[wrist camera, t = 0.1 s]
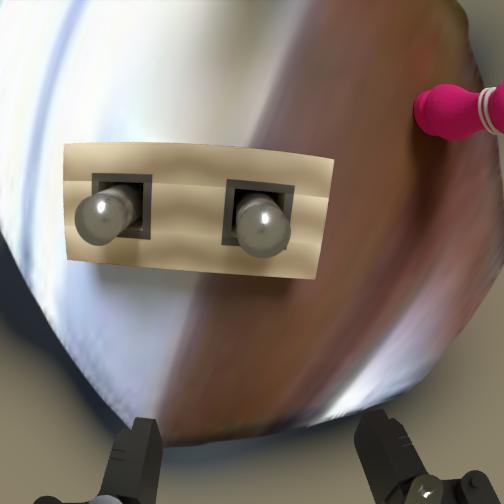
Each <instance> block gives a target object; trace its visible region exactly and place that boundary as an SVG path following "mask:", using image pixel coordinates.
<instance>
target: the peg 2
mask: <svg viewBox="0 0 504 504" xmlns="http://www.w3.org/2000/svg"><path fill="white" fill-rule="evenodd" d="M236 227H237V238H238V242H239V244H240V246H241V247H242V249H243V250H244V251H245V252H246V253H247V254H249V255H251V256H253V257H256V258H261V259H265V258H271V257H274V256H276V255H278V254H279V253H281V252H282V251H283V250H284V249H285V248H286V246H287V245H288V243H289V240H290V236H291V227H290V223H289V221H288V219H287V218H286V216H285V215H284V213H283V212H282V211H281V209H280V208H279V207H278V205H277V204H276V203H275V201H274V200H273V199H272V198H271V197H270V196H269V195H268V194H266V193H264V192H261V191H251V192H248V193H246V194H245V195H243V196H242V197H241V198H240V199H239V201H238V203H237V205H236Z"/></svg>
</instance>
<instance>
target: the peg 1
mask: <svg viewBox="0 0 504 504" xmlns="http://www.w3.org/2000/svg"><path fill="white" fill-rule="evenodd" d="M142 213H143V193H142V191H141V190H140V189H139V188H138V187H137V186H136V185H134V184H132V183H121V184H118V185H116V186H113V187H111V188H108V189H106V190H103V191H101V192H99V193H96V194H94V195H92V196H89V197H87V198H85V199H84V200H82V201H81V202H80V204H79V205H78V207H77V209H76V211H75V217H74V221H75V227H76V230H77V232H78V234H79V235H80V237H81V238H82V239H83V240H84V241H86V242H87V243H89V244H91V245H94V246H103V245H106V244H108V243H110V242H111V241H112V240H113V239H114V238H115V237H117V236H118V235H119V234H120V233H121V232H122V231H123V230H125V229H126V228H127V227H128V226H129V225H130V224H131V223H133V222H134V221H135V220H136V219H137V218H138V217H140V215H141V214H142Z"/></svg>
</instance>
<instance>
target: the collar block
mask: <svg viewBox="0 0 504 504" xmlns="http://www.w3.org/2000/svg"><path fill="white" fill-rule="evenodd" d="M333 164H334V159H328V158H322V157H316V156H310V155H303V154H295V153H288V152H279V151H271V150H262V149H252V148H241V147H230V146H217V145H202V144H183V143H155V142H97V143H74V144H64V161H63V201H64V225H65V240H66V251H67V260H75V261H85V262H95V263H105V264H116V265H127V266H138V267H150V268H161V269H173V270H186V271H199V272H212V273H225V274H239V275H254V276H269V277H284V278H301V279H315V277H316V271H317V266H318V260H319V255H320V249H321V243H322V237H323V231H324V225H325V219H326V213H327V206H328V200H329V193H330V186H331V179H332V172H333ZM125 182H137V183H144V185H143V213H142V214H141V215H140V217H138V218H137V219H136V220H135V221H134V222H133V223H131V224H130V225H129V226H128V227H127V228H126V229H125V230H123V231H122V232H121V233H120V234H119V235H118V236H117V237H115V238H114V239H113V240H112V241H111V242H110V243H108V244H106V245H103V246H94V245H91V244H89V243H87V242H86V241H84V240H83V239H82V238H81V237H80V235H79V234H78V232H77V230H76V227H75V221H74V217H75V211H76V209H77V207H78V205H79V204H80V202H81V201H82V200H84V199H85V198H87V197H89V196H92V195H94V194H96V193H99V192H101V191H103V190H106V189H108V188H111V187H113V186H116V185H118V184H121V183H125ZM235 188H236V189H247V190H258V191H268V192H273V194H272V199H273V200H274V201H275V203H276V204H277V205H278V207H279V208H280V209H281V211H282V212H283V213H284V215H285V216H286V218H287V219H288V221H289V223H290V227H291V236H290V240H289V243H288V245H287V246H286V248H285V249H284V250H283V251H282V252H281V253H279V254H278V255H276V256H274V257H271V258H265V259H261V258H256V257H253V256H251V255H249V254H247V253H246V252H245V251H244V250H243V249H242V247H241V246H240V244H239V242H238V238H237V227H236V218H232V214H233V203H234V192H235Z"/></svg>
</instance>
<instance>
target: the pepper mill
mask: <svg viewBox="0 0 504 504" xmlns="http://www.w3.org/2000/svg"><path fill="white" fill-rule="evenodd" d="M414 117H415V120H416V122H417V124H418V125H419V127H420V128H421V129H422V131H424V132H425V133H426V134H428V135H431V136H440V137H442V138H444V139H446V140H450V141H456V140H462V139H465V138H467V137H469V136H471V135H472V134H474V133H475V132H477V131H479V130H483V129H487V130H488V131H489V132H490V133H492V134H494V135H498V134H499V135H504V82H503V83H501V84H500V85H498V86H497V88H495V87H493V88H485V89H484V90H482V92H481V93H470V92H468V91H466V90H464V89H462V88H461V87H459V86H455V85H451V84H442V85H438V86H436V87H434V88H433V89H432V90H430V91H424V92H422V93H420V94H419V95H418V96H417V98H416V100H415V102H414Z"/></svg>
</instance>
